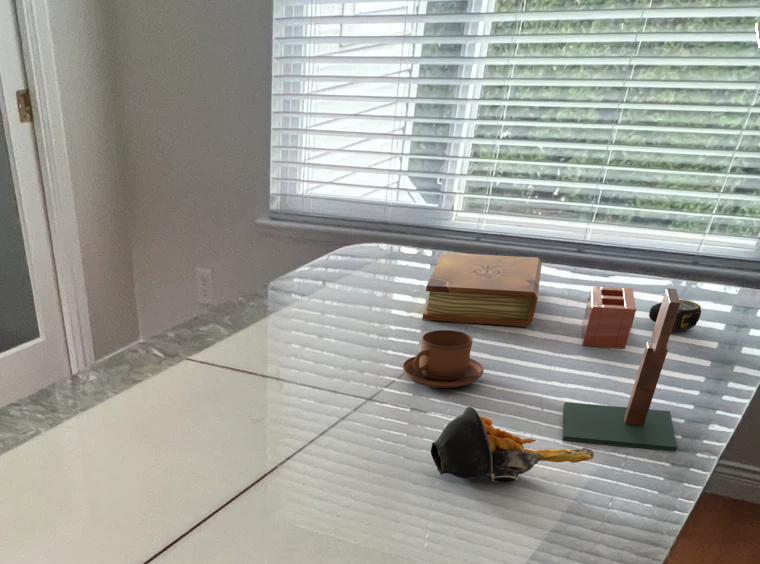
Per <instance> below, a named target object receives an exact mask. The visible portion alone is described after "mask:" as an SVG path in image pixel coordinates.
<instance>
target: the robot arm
mask: <svg viewBox="0 0 760 564" xmlns="http://www.w3.org/2000/svg"><path fill="white" fill-rule="evenodd" d="M755 32H756V39H757V46H758V49H759V50H760V18H759V19H758V20H757V21H756V23H755ZM757 95H758V96H760V87H759V89H758V93H757Z"/></svg>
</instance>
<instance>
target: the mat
mask: <svg viewBox="0 0 760 564" xmlns="http://www.w3.org/2000/svg"><path fill="white" fill-rule="evenodd" d="M626 409H627V406H617V405H616V406H615V405H605V404H603V405H602V404H591V403H581V402H571V401H564V403H563V413H562V415H563V416H562V441H565V442H575V443H586V444H598V445H606V446H614V447H615V446H616V447H617V446H618V447H625V448H627V447H628V448H635V449H636V448H637V449H646V450H656V451H657V450H658V451H667V452H669V451H670V452H677V450H678V444H677V438H676V434H675V429H674V425H673V424H674V423H673V419H672V414H671V411H670V410H662V409H650V408H649V411H648V414H647V417H646V420H645V423H644V426H640V425H629V424H625V420H624V416H625V413H626Z"/></svg>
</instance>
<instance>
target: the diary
mask: <svg viewBox="0 0 760 564" xmlns="http://www.w3.org/2000/svg"><path fill="white" fill-rule="evenodd" d="M542 264H543V263H542V261H541V259H540V258H539V257H533V256H517V255H495V254H494V255H493V254H473V253H456V252H455V253H454V252H453V253H452V252H451V253H450V252H442V253H440V256H439V258H438V260H437V262H436V264H435V266H434V269H433V271H432V273H431V276H430V278H429V280H428V282H427V284H426V288H425V292H429V295H428V300H427V301H428V302H427V304H426V306H425V309H424V311H423V314H422V320H423V321H439V322H450V323H451V322H452V323H465V324H466V323H467V324H480V325H481V324H483V325H495V326H496V325H498V326H509V327H510V326H511V327H526V328H527V327H528V326H529V325H530V324H531V323H533V321H534V315H535V313H536V307H537V303H538V299H539V298H538V297H539V288H540V280H541V273H542Z"/></svg>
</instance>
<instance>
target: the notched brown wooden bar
mask: <svg viewBox="0 0 760 564" xmlns="http://www.w3.org/2000/svg"><path fill="white" fill-rule="evenodd" d="M680 300H681V299H680V298H679V294H678V290H677V288H670V287H669V288H668V287H667V288H665V291H664V294H663V297H662V300H661V303H662V304H661V307H660V310H659V313H658V317H657V320H656V323H655V322H654V323H655V324H654V326H653V330H652V334H651V336H650V338H651V342H650V341H647V342H646V344H645V348H644V350H643V354H642V357H641V360H640V364H639V367H638V370H637V374H636V376H635V379H634V383H633V386H632V390H631V393H630V396H629V400H628V403H627V406H626V407H627V409H626V413H625V416H624V420H625V424H629V425H640V426H644V423H645V420H646V417H647V414H648V411H649V409H650V407H651V404H652V401H653V398H654V395H655V392H656V389H657V386H658V384H659V383H658V382H659V380H660V377H661V373H662V370H663V368H664V364H665V361H666V357H667V354H668V351H669V348H668V343H669V341H670V337H671V334H672V332H673V331H672V328H673V325H674V322H675V318H676V315H677V312H678V309H679V306H680Z"/></svg>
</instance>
